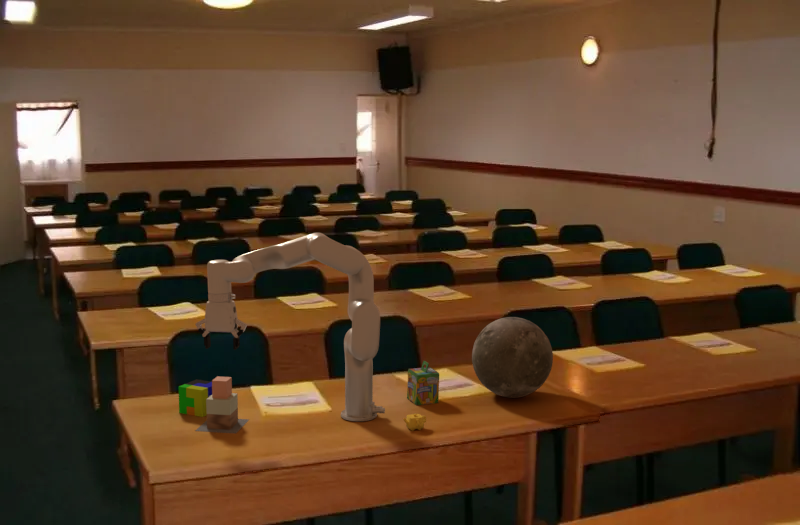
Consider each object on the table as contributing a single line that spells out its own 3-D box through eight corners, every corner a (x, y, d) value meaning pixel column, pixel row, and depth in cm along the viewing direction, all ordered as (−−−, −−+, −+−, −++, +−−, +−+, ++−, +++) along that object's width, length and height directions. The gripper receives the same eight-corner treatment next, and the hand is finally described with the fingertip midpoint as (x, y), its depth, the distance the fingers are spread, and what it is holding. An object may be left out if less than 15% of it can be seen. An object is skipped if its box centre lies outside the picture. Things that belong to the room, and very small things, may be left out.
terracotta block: (232, 394, 297) (231, 377, 296) (226, 398, 292) (226, 381, 291) (217, 393, 297) (217, 376, 297) (212, 398, 293) (211, 380, 292)
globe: (568, 399, 329) (571, 320, 324) (507, 413, 312) (509, 330, 307) (514, 380, 353) (516, 306, 349) (455, 392, 337) (456, 315, 332)
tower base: (238, 421, 299) (237, 407, 299) (230, 429, 292) (229, 415, 291) (215, 420, 301) (215, 406, 300) (207, 428, 293) (206, 413, 292)
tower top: (237, 407, 299) (237, 393, 298) (229, 415, 291) (229, 400, 290) (215, 406, 300) (214, 392, 299) (206, 413, 292) (206, 399, 291)
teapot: (406, 433, 291) (406, 418, 290) (400, 427, 296) (401, 412, 296) (429, 431, 293) (429, 416, 293) (423, 425, 299) (423, 410, 298)
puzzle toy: (220, 410, 313) (219, 382, 312) (202, 418, 304) (201, 390, 303) (197, 406, 317) (196, 379, 316) (179, 414, 308) (178, 386, 307)
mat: (249, 420, 302) (249, 419, 302) (236, 434, 288) (235, 433, 288) (210, 418, 304) (210, 417, 304) (195, 432, 290) (195, 430, 290)
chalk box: (406, 398, 328) (407, 360, 326) (429, 396, 331) (429, 357, 329) (416, 406, 320) (416, 366, 317) (439, 403, 323) (440, 364, 321)
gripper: (249, 296, 292) (250, 346, 295) (199, 294, 294) (201, 344, 297) (241, 300, 285) (243, 352, 287) (190, 299, 287) (192, 350, 290)
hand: (222, 348), depth 292 cm, fingers open, 9 cm apart
